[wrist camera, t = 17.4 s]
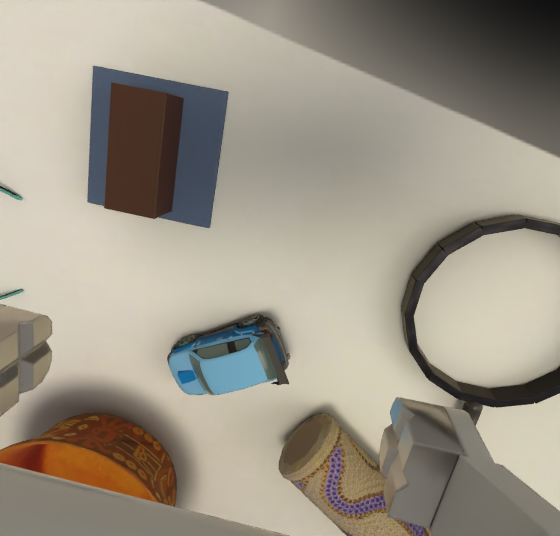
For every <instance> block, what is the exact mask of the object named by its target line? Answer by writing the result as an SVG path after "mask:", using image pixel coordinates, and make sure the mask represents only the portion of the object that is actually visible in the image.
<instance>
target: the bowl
mask: <svg viewBox="0 0 560 536" xmlns="http://www.w3.org/2000/svg"><path fill="white" fill-rule="evenodd" d="M0 463H3V464H7V465H11V466H15V467H19V468H23V469H27V470H31V471H35V472H39V473H43V474H47V475H51V476H55V477H59V478H62V479H66V480H70V481H74V482H78V483H82V484H86V485H90V486H94V487H98V488H102V489H106V490H110V491H114V492H118V493H122V494H126V495H130V496H134V497H138V498H142V499H145V500H149V501H153V502H157V503H161V504H165V505H169V506H173V507H174V506H175V501H176V490H177V487H176V474H175V470H174V466H173V464H172V461H171V459H170V457H169V455H168V454H167V452H166V451H165V449H164V448H163V446H162V445H161V444H160V443H159V442H158V441H157V440H156V439H155V438H154V437H153V436H152V435H150V434H149V433H147V432H146V431H145V430H143V429H142V428H140V427H139V426H137V425H134V424H132V423H130V422H128V421H126V420H124V419H121V418H118V417H114V416H111V415H104V414H83V415H78V416H73V417H70V418H67V419H65V420H64V421H62V422H60V423H58V424H57V425H55V426H54V427H52V428H51V429H49V430H48V431H47V432H45V433H44V434H42V435H41V436H40V437H38V438H34V439H30V440H26V441H22V442H19V443H16V444H13V445H10V446H8V447H6V448H4V449H1V450H0Z"/></svg>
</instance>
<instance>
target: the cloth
mask: <svg viewBox="0 0 560 536" xmlns="http://www.w3.org/2000/svg"><path fill="white" fill-rule="evenodd" d="M111 82H113V83H118V84H124V85H129V86H134V87H139V88H144V89H149V90H154V91H160V92H165V93H169V94H172V95H175V96H178V97H182V98H184V102H183V112H182V121H181V130H180V140H179V149H178V159H177V168H176V178H175V187H174V197H173V206H172V212H169V213H167V214H165V215H162V216H160V217H159V218H164V219H168V220H173V221H178V222H182V223H187V224H192V225H196V226H201V227H206V228H210V223H211V215H212V208H213V201H214V194H215V186H216V179H217V172H218V164H219V157H220V150H221V143H222V135H223V128H224V121H225V114H226V106H227V99H228V92H226V91H221V90H215V89H210V88H205V87H200V86H195V85H190V84H185V83H179V82H174V81H169V80H164V79H159V78H154V77H148V76H143V75H138V74H133V73H128V72H123V71H117V70H112V69H107V68H102V67H97V66H93V83H92V107H91V130H90V154H89V178H88V202H89V203H93V204H98V205H103V206H104V205H105V187H106V168H107V150H108V131H109V113H110V94H111Z"/></svg>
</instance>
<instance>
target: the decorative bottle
mask: <svg viewBox="0 0 560 536" xmlns="http://www.w3.org/2000/svg"><path fill="white" fill-rule="evenodd" d="M279 470H280V473H281V474H282V476H283V477H284V478H286V479H288V480H290V481H291V482H292V483H293V484H294V485H295V486H296V487H297V488H298V489H299V490H301V491H302V492H303V494H304V495H305V496H306V497H307V498H309V499H310V501H311V502H312V503H314V504H315V505H316V506H317V507H318V508H319V509H320V510H321V511H322V512H323V513H324V514H325V515H326V516H327V517H328V518H329V519H331V520H332V521H333V522H334V523H335V524H336V525H337V526H338V527H339V528H340V530H341V531H342V532H343V533H345V534H346V535H347V536H433V535H432V534H431V532H430V529H429V528H425V527H421V526H418V525H414V524H411V523H407V522H403V521H400V520H396V519H392V518H389V517H387V511H386V505H385V499H384V493H383V489H384V486H385V483H386V479H385V478H384V477H383V476H382V474H381V473H380V468H379V466H378V465H377V464H376V463H375V462H374V461H373V460H372V459H371V458H370V457H369V456H368V455H367V454H366V453H365V452H364V451H363V450H362V449H361V448H360V447H359V446H358V445H357V444H356V443H355V442H354V441H353V440H352V439H351V438H350V437H349V436H348V435H347V434H346V433H345V432H344V431H343V430H342V429H341V428H340V427H339V426H338V425H337V423H336V421H335V420H334V419H333V418H332V417H331V416H329V414H319V415H314V416H312V417H310V418H309V419H307V420H306V421H305V422H304V423H302V424H301V425H300V426H299V427H298V428H297V429H296V430H295V431H294V433H293V434H292V435H291V437H290V438H289V439H288V441H287V442H286V444H285V445H284V447H283V449H282V453H281V457H280V460H279Z"/></svg>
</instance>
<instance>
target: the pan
mask: <svg viewBox="0 0 560 536" xmlns="http://www.w3.org/2000/svg"><path fill="white" fill-rule="evenodd" d="M523 228H527V229H532V230H537V231H541V232H546V233H551V234H556V235H558V236H559V237H560V224H559V223H556V222H551V221H546V220H541V219H537V218H532V217H527V216H522V215H510V216H505V217H499V218H493V219H487V220H481V221H476V222H474V223H473V222H472V223H471V224H469V225H467V226H465V227H464V228H462V229H460V230H458V231H457V232H455V233H453V234H451V235H450V236H448V237H446V238H444V239H443V240H441V241H439V242H438V244H435V246H434V247H433V248H432V249H431V250H430V252H429V253H428V254H427V255H426V256H425V258H424V259H423V260H422V261H421V262H420V264H419V265H418V266H417V267H416V269H415V270H414V271H413V272H412V274H411V277H410V280H409V283H408V286H407V290H406V293H405V296H404V300H403V303H402V306H401V312H402V319H403V326H404V334H405V340H406V343H407V346H408V348H409V351H410V353H411V354H412V356H413V357H414V359H415V360H416V362H417V363H418V365H419V367H420V368H421V370H422V371H423V373H424V374H425V376H426V377H427V378H428V380H430V381H431V382H433V383H434V384H436V385H437V386H439V387H440V388H442V389H443V390H445V391H446V392H448V393H449V394H451V395H452V396H454V397H455V398H457V399H459V400H464V401H465V402H464V405H463V407H462V410H464V411H466V412H467V413H468V414H469V415H470V417H471V419H472V421H473V423H474V425H475V426H476V424H477V421H478V419H479V416H480V414H481V411H482V408H483V405H486V406H490V407H506V406H516V405H527V404H534V402H535V403H538V402H541V401H543V400H545V399H548V398H550V397H552V396H554V395H557V394H559V393H560V367H559V368H558V369H557V370H556V371H553V372H551V373H549V374H547V375H545V376H542V377H540V378H538V379H536V380H533V381H531V382H529V383H527V384H525V385H520V386H510V387H501V388H492V389H487V388H483V387H479V386H474V385H470V384H465V383H461V382H457V381H455V380H454V379H452V378H451V377H449V376H448V375H446V374H445V373H443V372H441V371H440V370H438V369H437V368H435V367H434V366H432V365H431V364H430V363H429V361H428V360H427V358H426V357H425V355H424V354H423V352H422V351H421V349H420V348H419V346H418V344H417V338H416V331H415V323H414V313H415V310H416V307H417V304H418V301H419V298H420V294H421V291H422V288H423V285H424V283H425V282H426V281H427V280H428V278H429V277H430V276H431V275H432V274H433V272H434V271H435V270H436V269H437V268H438V266H439V265H440V264H441V263H442V262H443V261H444V259H445V258H446V257H447V256H448V255H449V254H451V253H452V252H454V251H456V250H458V249H460V248H461V247H463V246H465V245H467V244H468V243H470V242H472V241H474V240H476V239H477V238H479V237H481V236H483V235H487V234H493V233H499V232H505V231H511V230H517V229H523Z"/></svg>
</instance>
